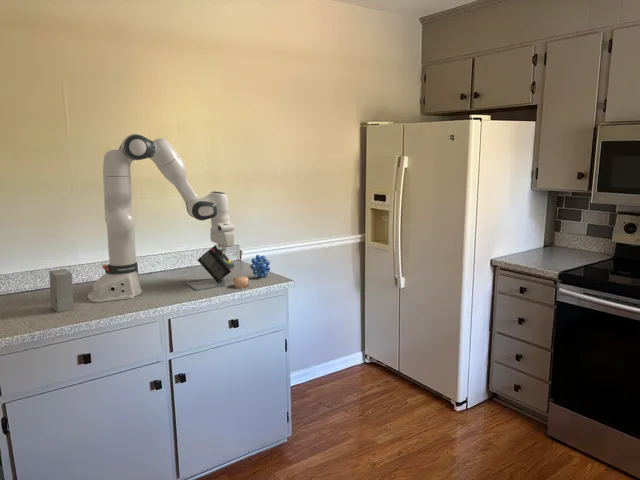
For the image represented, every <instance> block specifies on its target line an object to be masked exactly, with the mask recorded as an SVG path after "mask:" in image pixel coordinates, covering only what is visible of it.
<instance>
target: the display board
mask: <svg viewBox="0 0 640 480" xmlns="http://www.w3.org/2000/svg"><path fill="white" fill-rule="evenodd" d="M186 286H188V287H190V288H191V289H193V290H195V291H203V290H209V289H210V290H211V289H215V288H221V287H225V286H226V284H225V283H224V282H222V281H221V280H220V281H219V282H218V283H217V282H216V280H215V279H214V278H212V279H204V280H200V281H193V282H187V283H186Z"/></svg>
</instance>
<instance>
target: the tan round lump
mask: <svg viewBox="0 0 640 480" xmlns="http://www.w3.org/2000/svg"><path fill="white" fill-rule="evenodd" d="M249 284H250V283H249V277H248V276H242V275H240V276H235V277H233V288H235V289H246V288H249V286H250V285H249Z"/></svg>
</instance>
